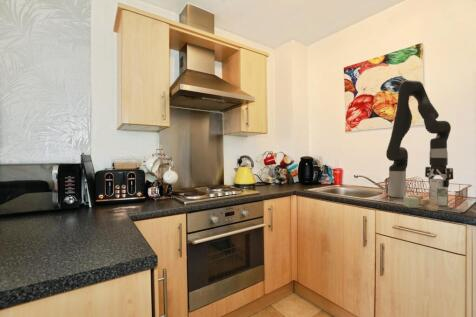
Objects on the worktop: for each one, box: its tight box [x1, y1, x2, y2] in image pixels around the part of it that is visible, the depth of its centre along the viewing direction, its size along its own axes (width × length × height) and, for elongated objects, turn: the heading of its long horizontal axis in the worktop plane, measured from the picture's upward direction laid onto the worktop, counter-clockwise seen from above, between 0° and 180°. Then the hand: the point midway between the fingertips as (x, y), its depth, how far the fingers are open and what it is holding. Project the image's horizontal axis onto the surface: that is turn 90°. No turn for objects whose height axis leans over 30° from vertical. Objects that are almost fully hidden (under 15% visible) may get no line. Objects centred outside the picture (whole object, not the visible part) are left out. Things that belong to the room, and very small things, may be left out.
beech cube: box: [420, 198, 440, 212], centre depth 117 cm, size 5×5×5 cm
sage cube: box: [402, 196, 420, 209], centre depth 124 cm, size 5×5×5 cm
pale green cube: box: [407, 194, 424, 206], centre depth 129 cm, size 5×5×5 cm
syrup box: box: [428, 178, 449, 207], centre depth 125 cm, size 6×6×14 cm
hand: (438, 186), depth 125 cm, fingers open, 8 cm apart
